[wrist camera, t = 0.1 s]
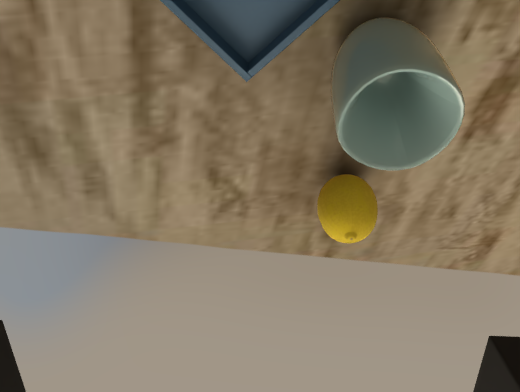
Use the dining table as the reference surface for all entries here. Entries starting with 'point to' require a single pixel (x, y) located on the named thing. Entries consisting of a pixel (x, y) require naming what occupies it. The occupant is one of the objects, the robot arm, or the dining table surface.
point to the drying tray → (248, 27)
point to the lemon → (347, 208)
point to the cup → (393, 96)
